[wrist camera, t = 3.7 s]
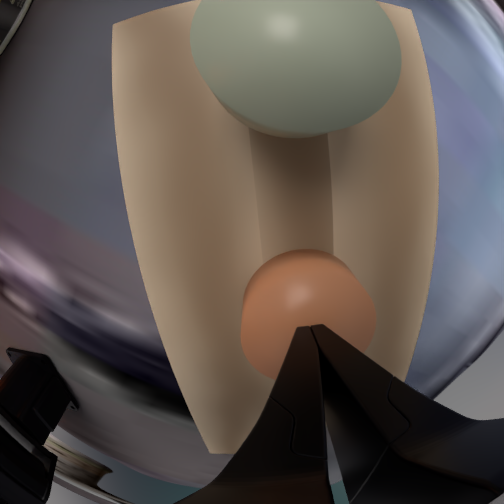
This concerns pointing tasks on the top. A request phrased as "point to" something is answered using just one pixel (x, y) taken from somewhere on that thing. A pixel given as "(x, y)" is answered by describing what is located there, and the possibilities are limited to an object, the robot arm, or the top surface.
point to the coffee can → (11, 19)
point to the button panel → (265, 210)
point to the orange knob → (302, 306)
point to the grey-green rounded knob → (297, 62)
